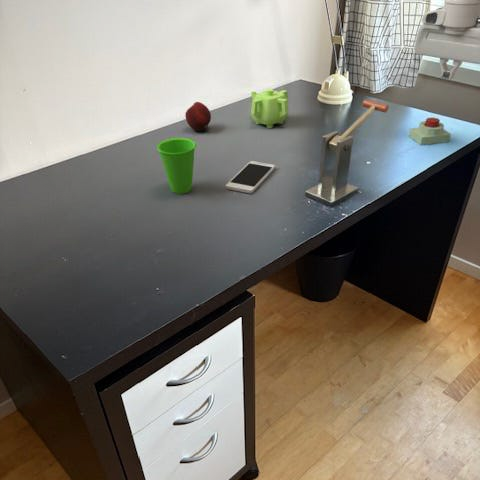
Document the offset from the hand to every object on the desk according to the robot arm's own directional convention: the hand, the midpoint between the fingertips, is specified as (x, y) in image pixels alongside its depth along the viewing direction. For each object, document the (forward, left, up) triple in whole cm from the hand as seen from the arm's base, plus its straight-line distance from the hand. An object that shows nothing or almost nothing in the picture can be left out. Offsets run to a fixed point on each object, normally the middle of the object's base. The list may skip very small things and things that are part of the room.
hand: (447, 78), depth 125 cm
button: (+1, -1, -13) cm, 13 cm away
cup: (+58, +46, -17) cm, 76 cm away
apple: (+68, +8, -17) cm, 70 cm away
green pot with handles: (+49, -3, -17) cm, 52 cm away
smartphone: (+43, +36, -17) cm, 59 cm away
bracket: (+22, +39, -17) cm, 48 cm away
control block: (+1, -1, -17) cm, 17 cm away
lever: (+19, +33, -3) cm, 38 cm away
